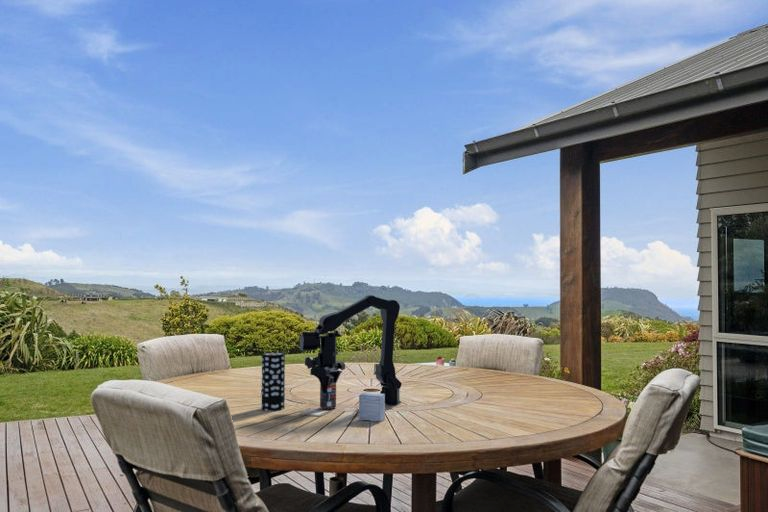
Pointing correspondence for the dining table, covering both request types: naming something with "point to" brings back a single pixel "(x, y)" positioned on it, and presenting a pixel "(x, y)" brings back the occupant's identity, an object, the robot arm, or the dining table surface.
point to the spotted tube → (273, 381)
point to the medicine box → (372, 406)
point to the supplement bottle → (328, 396)
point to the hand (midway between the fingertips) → (328, 391)
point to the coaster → (313, 412)
